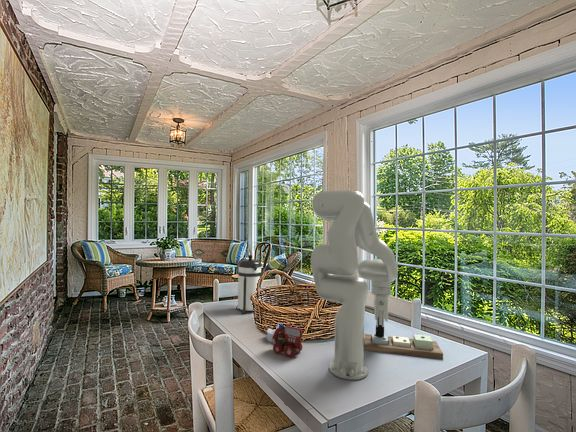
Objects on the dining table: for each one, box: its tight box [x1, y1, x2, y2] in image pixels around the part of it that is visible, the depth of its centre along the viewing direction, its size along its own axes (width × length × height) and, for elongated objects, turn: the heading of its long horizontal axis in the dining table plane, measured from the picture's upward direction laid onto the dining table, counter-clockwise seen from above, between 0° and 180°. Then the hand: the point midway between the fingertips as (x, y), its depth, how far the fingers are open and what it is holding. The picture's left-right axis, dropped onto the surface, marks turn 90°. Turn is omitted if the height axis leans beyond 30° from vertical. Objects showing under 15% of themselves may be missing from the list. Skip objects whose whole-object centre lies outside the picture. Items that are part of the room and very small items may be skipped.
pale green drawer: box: [412, 333, 433, 350], centre depth 124 cm, size 6×6×3 cm
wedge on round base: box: [266, 323, 285, 343], centre depth 132 cm, size 9×7×13 cm
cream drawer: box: [391, 335, 410, 347], centre depth 126 cm, size 6×6×3 cm
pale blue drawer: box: [371, 333, 389, 345], centre depth 128 cm, size 6×6×3 cm
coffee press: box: [235, 254, 263, 315], centre depth 173 cm, size 17×16×30 cm
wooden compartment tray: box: [364, 333, 444, 360], centre depth 126 cm, size 12×28×2 cm, turn 76°
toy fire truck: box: [271, 324, 303, 359], centre depth 119 cm, size 7×12×10 cm, turn 58°
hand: (379, 336), depth 128 cm, fingers closed
